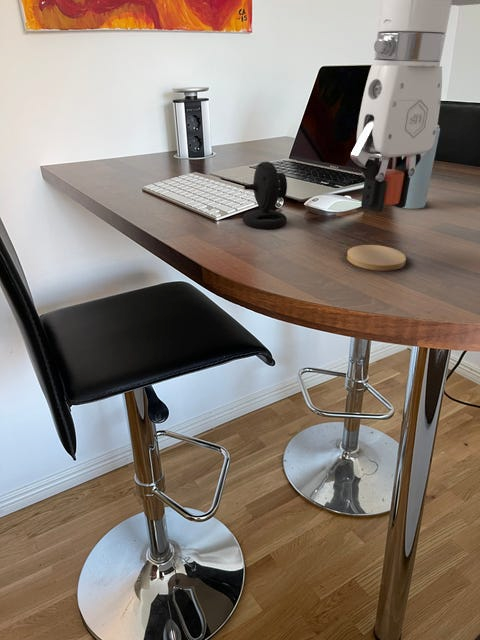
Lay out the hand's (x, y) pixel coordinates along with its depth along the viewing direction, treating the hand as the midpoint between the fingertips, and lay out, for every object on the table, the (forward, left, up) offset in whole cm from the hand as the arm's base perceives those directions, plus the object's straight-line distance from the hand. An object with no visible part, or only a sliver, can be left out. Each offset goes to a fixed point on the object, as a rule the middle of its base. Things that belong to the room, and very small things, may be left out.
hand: (383, 206), depth 66 cm
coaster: (0, 0, -8) cm, 8 cm away
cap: (0, 0, +1) cm, 1 cm away
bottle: (-28, -17, -8) cm, 34 cm away
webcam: (+3, -22, -8) cm, 24 cm away
